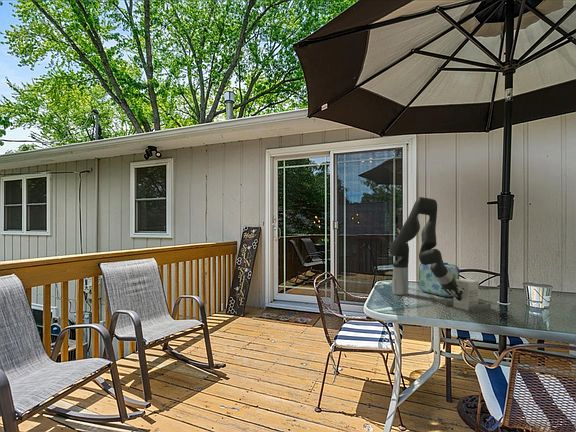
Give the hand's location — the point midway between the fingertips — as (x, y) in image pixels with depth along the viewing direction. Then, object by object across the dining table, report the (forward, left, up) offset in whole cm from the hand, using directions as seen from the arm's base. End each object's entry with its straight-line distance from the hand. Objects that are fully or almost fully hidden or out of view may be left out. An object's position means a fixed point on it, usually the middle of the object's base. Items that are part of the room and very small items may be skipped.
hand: (459, 299), depth 184 cm
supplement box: (+4, +3, -5) cm, 7 cm away
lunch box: (+2, +36, -6) cm, 37 cm away
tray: (+5, +4, -5) cm, 8 cm away
